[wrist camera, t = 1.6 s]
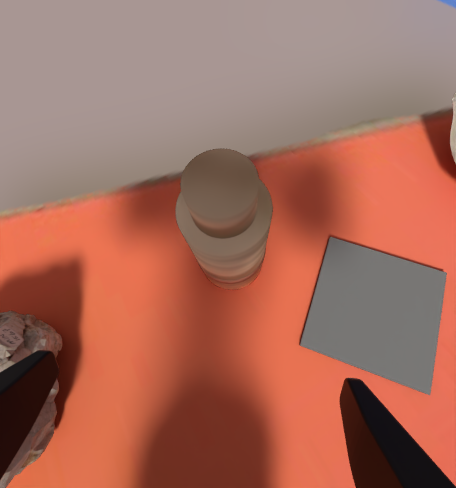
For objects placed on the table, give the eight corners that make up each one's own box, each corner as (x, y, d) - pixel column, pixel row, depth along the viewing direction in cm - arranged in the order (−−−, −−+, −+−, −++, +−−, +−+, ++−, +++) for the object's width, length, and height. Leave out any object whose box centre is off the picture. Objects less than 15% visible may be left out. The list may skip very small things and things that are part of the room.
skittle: (251, 299, 22) (256, 253, 11) (191, 277, 23) (141, 214, 12) (270, 242, 24) (293, 149, 13) (214, 223, 25) (188, 121, 13)
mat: (427, 394, 19) (430, 395, 19) (299, 345, 21) (300, 345, 21) (444, 273, 22) (446, 272, 22) (329, 237, 24) (330, 236, 23)
